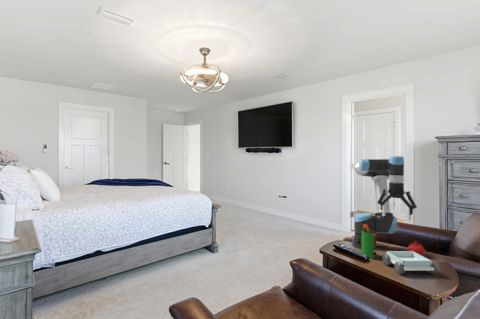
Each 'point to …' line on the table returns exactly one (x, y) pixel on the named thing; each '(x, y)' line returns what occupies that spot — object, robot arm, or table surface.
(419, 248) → the pomegranate
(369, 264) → the table surface
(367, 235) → the motor
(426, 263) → the chassis
